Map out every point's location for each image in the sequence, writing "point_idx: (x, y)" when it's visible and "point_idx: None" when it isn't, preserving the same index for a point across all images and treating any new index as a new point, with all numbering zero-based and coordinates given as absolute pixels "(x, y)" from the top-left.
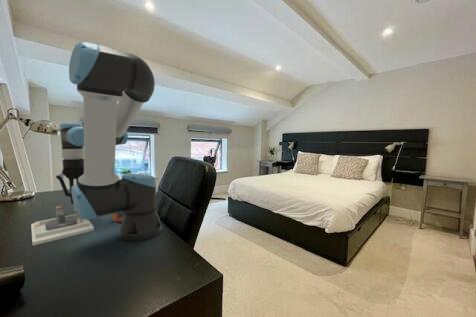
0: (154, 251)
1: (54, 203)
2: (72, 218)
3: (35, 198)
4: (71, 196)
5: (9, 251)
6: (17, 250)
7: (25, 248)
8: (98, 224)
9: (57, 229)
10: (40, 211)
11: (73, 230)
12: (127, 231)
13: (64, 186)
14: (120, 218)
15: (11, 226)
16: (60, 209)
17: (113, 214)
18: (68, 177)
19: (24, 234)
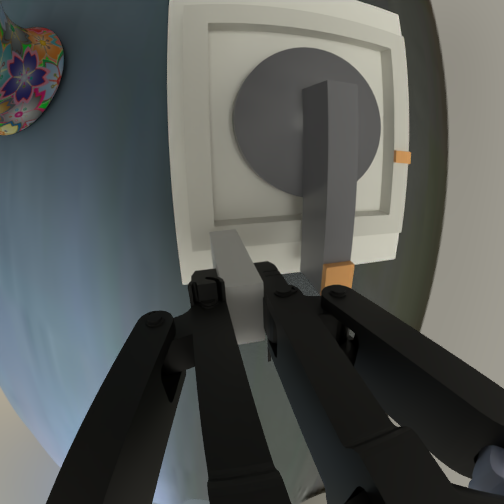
0: None
1: (274, 465)
2: (258, 141)
3: (304, 492)
4: (293, 288)
5: (432, 39)
6: (418, 25)
7: (403, 19)
8: (130, 59)
9: (336, 23)
10: None
11: (264, 5)
12: None
13: (425, 354)
14: (30, 28)
15: (417, 300)
16: (333, 234)
17: (39, 48)
18: (457, 491)
19: (412, 170)
